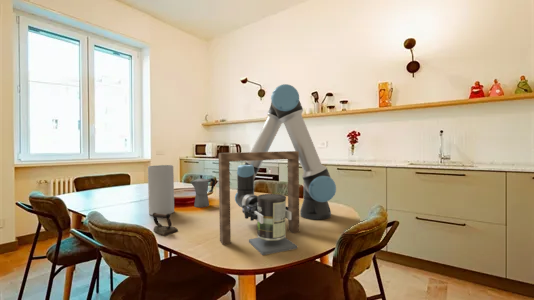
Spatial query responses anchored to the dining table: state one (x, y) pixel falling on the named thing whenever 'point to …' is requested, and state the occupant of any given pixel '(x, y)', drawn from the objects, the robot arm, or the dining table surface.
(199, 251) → the dining table surface
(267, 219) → the coffee can
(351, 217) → the dining table surface
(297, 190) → the walnut archway
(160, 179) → the cylinder vase
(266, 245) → the slate mat
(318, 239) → the dining table surface
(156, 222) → the clothes iron
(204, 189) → the coffeepot
